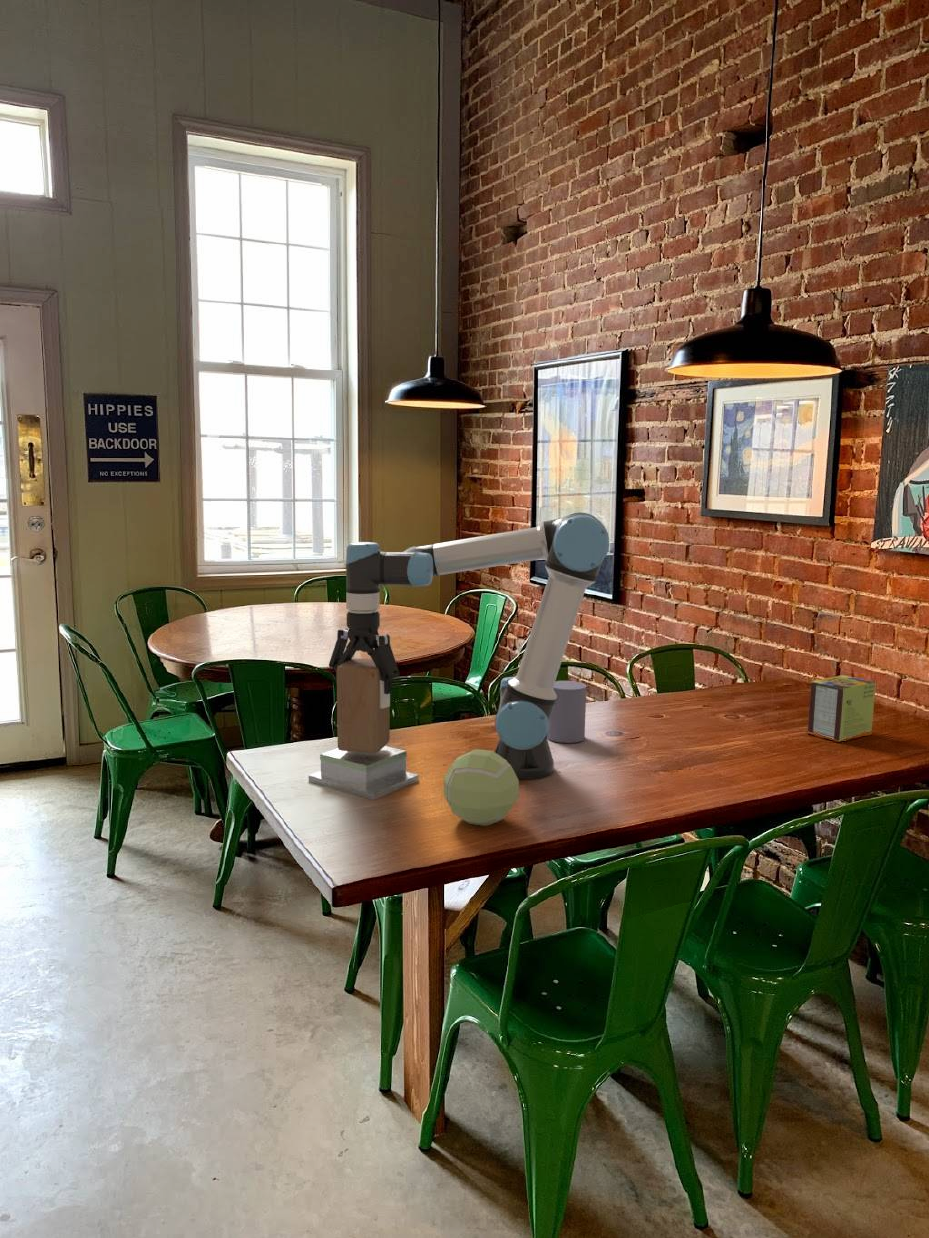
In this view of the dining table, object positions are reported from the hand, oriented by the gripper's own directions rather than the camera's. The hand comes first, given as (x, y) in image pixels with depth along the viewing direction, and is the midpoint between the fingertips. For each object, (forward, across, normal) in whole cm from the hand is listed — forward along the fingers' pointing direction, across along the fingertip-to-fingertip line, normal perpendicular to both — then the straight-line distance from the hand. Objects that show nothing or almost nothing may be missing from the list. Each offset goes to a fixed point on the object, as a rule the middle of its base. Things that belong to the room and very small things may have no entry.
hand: (363, 702), depth 215 cm
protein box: (+19, -79, -111) cm, 138 cm away
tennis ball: (+19, -36, +4) cm, 41 cm away
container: (+19, -20, -60) cm, 66 cm away
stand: (+19, 0, 0) cm, 19 cm away
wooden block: (+11, 0, 0) cm, 11 cm away
